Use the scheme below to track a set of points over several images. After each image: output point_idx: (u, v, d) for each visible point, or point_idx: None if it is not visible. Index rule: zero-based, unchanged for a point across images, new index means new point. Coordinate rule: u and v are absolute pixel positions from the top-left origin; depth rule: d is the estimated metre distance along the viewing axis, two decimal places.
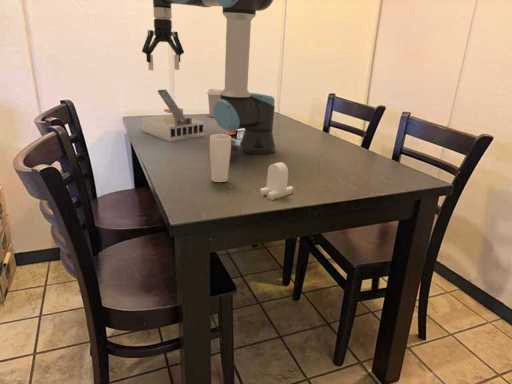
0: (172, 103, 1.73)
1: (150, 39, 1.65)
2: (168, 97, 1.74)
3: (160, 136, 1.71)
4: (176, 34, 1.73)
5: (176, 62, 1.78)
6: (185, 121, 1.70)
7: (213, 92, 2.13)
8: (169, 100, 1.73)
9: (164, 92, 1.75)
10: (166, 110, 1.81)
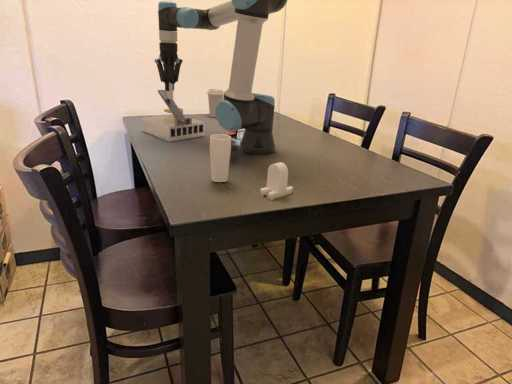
0: (172, 103, 1.73)
1: (161, 68, 1.64)
2: None
3: (160, 136, 1.71)
4: (180, 61, 1.70)
5: None
6: (185, 121, 1.70)
7: (213, 92, 2.13)
8: (169, 100, 1.73)
9: (164, 92, 1.75)
10: (166, 110, 1.81)
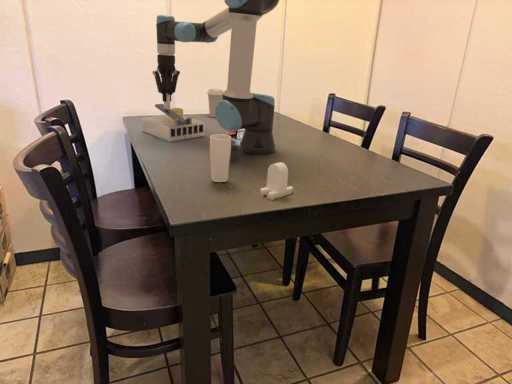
0: (169, 111, 1.76)
1: (159, 79, 1.67)
2: None
3: (160, 136, 1.71)
4: (178, 73, 1.73)
5: None
6: (185, 120, 1.70)
7: (213, 92, 2.13)
8: (167, 109, 1.77)
9: (161, 105, 1.79)
10: None
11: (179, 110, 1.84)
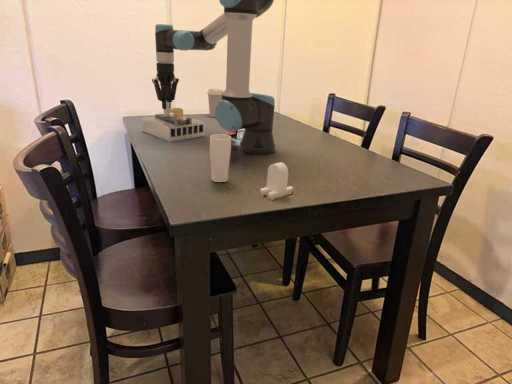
0: (169, 117, 1.77)
1: (158, 87, 1.69)
2: None
3: (160, 136, 1.71)
4: (177, 80, 1.75)
5: None
6: (184, 120, 1.70)
7: (213, 92, 2.13)
8: None
9: (161, 114, 1.81)
10: None
11: (179, 110, 1.84)
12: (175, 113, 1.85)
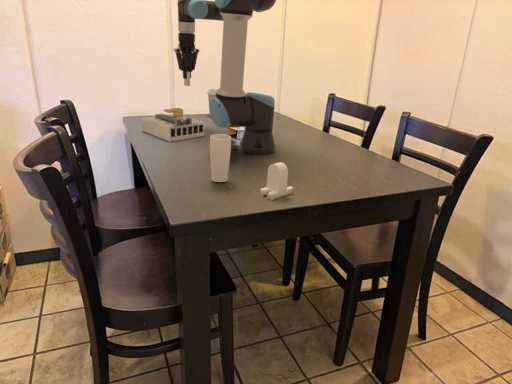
0: (169, 117, 1.77)
1: (180, 57, 1.77)
2: (165, 115, 1.79)
3: (160, 136, 1.71)
4: (197, 51, 1.82)
5: None
6: (184, 120, 1.70)
7: (213, 92, 2.13)
8: (167, 116, 1.78)
9: (161, 114, 1.81)
10: (166, 110, 1.81)
11: (179, 110, 1.84)
12: (175, 113, 1.85)
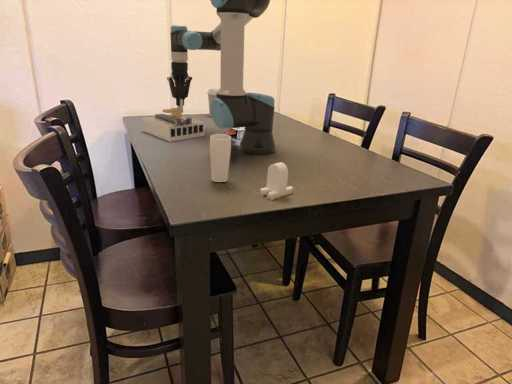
0: (169, 117, 1.77)
1: (173, 85, 1.79)
2: (165, 115, 1.79)
3: (160, 136, 1.71)
4: (190, 79, 1.84)
5: None
6: (184, 120, 1.70)
7: (213, 92, 2.13)
8: (167, 116, 1.78)
9: (161, 114, 1.81)
10: (164, 110, 1.81)
11: (177, 110, 1.84)
12: (173, 113, 1.85)
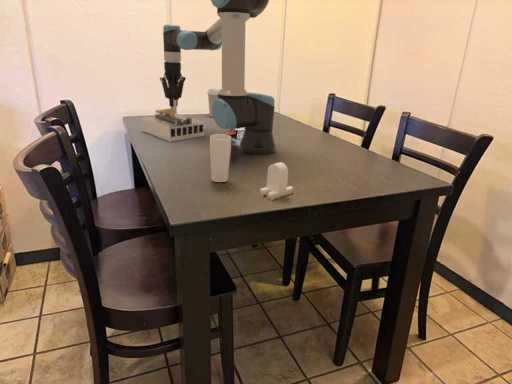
0: (169, 117, 1.77)
1: (166, 85, 1.76)
2: (165, 115, 1.79)
3: (160, 136, 1.71)
4: (183, 79, 1.82)
5: None
6: (184, 120, 1.70)
7: (213, 92, 2.13)
8: (167, 116, 1.78)
9: (161, 114, 1.81)
10: (157, 111, 1.78)
11: (171, 111, 1.81)
12: (167, 114, 1.82)
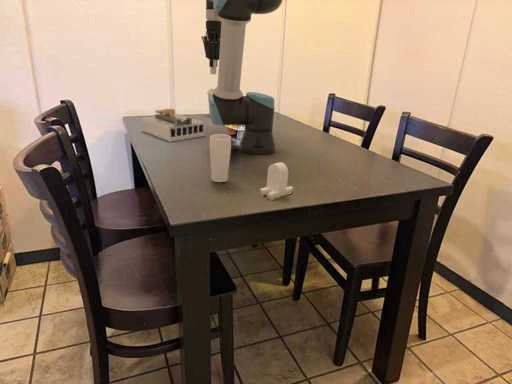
0: (169, 117, 1.77)
1: (207, 44, 1.76)
2: (165, 115, 1.79)
3: (160, 136, 1.71)
4: None
5: None
6: (184, 120, 1.70)
7: None
8: (167, 116, 1.78)
9: (161, 114, 1.81)
10: (157, 111, 1.78)
11: (171, 111, 1.81)
12: (167, 114, 1.82)
